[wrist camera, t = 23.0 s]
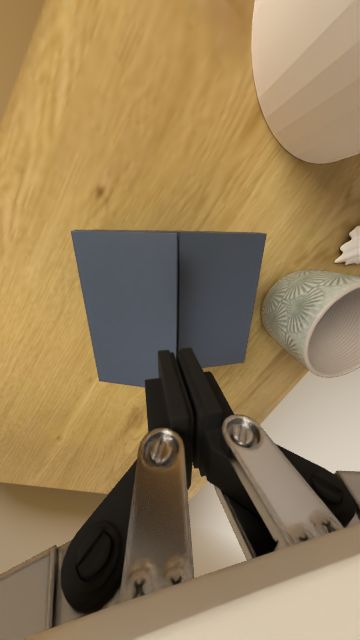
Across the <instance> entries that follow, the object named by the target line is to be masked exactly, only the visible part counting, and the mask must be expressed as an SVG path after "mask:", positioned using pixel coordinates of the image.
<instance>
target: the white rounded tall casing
mask: <svg viewBox="0 0 360 640" xmlns="http://www.w3.org/2000/svg"><path fill="white" fill-rule="evenodd" d="M251 53H252V66H253V77H254V82H255V87H256V92H257V97H258V101H259V104H260V107H261V110H262V112H263V115H264V118H265V120H266V122H267V124H268V126H269V128H270V130H271V132H272V134H273V135H274V137H275V138H276V139H277V140H278V142H279V143H280V144H281V145H282V147H283V148H284V149H286V150H287V151H288V152H289V153H291V154H292V155H293V156H295V157H297V158H299V159H301V160H303V161H305V162H310V163H316V164H324V163H332V162H336V161H339V160H342V159H345V158H348V157H351V156H354V155H357V154H360V0H255V3H254V11H253V18H252V41H251Z"/></svg>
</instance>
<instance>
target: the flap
mask: <svg viewBox="0 0 360 640" xmlns="http://www.w3.org/2000/svg"><path fill="white" fill-rule="evenodd" d="M71 235H72V240H73V245H74V251H75V256H76V261H77V267H78V272H79V277H80V282H81V288H82V293H83V298H84V303H85V309H86V314H87V319H88V325H89V330H90V335H91V340H92V346H93V351H94V356H95V362H96V367H97V372H98V377H99V381H103V382H110V383H117V384H124V385H132V386H139V387H145V380H147V379H155V378H159V374H158V351H160V350H169V351H170V352H174V355H175V358H176V352H177V298H178V233H159V232H105V231H71Z"/></svg>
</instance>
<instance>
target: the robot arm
mask: <svg viewBox="0 0 360 640" xmlns="http://www.w3.org/2000/svg"><path fill="white" fill-rule="evenodd" d="M158 374H159V378H155V379H147V380H145V392H146V405H147V419H148V432H149V433H147V434H146V435H145V436H144V438H143V439H142V441H141V442H140V446H139V450H138V457H137V460H136V461H135V462H134V464H133V465H132V466H131V467H130V469H129V470H128V471H127V472H126V473H125V475H124V476H123V477H122V478H121V480H120V481H119V482H118V483H117V484H116V486H115V487H114V488H113V489H112V491H111V492H110V493H109V494H108V495H107V497H106V498H105V499H104V500H103V502H102V503H101V504H100V505H99V506H98V508H97V509H96V510H95V511H94V513H93V514H92V515H91V516H90V517H89V519H88V520H87V521H86V522H85V524H84V525H83V526H82V527H81V529H80V530H79V531H78V532H77V534H76V535H75V537H74V538H73V539H72V540H71V541H69V542H67V543H65V544H63V545H62V546H60V547H58V548H57V546H56V545H54V546H52V547H51V548H49V549H47V550H45V551H43V552H41V553H40V554H38V555H36V556H34V557H32V558H30V559H28V560H26V561H25V562H23V563H21V564H19V565H17V566H15V567H13V568H12V569H10V570H8V571H6V572H4V573H2V574H0V640H360V472H355V471H336V473H335V474H332V473H331V472H329V471H328V470H326V469H324V468H322V467H320V466H318V465H316V464H314V463H312V462H310V461H308V460H306V459H304V458H302V457H300V456H298V455H296V454H294V453H292V452H290V451H288V450H286V449H284V448H283V447H280V446H278V445H276V444H275V443H274V442H273V441H272V440H271V438H270V437H269V436H268V435H267V434H266V432H265V431H264V430H263V429H262V428H261V426H260V425H259V424H258V423H257V422H256V421H254V420H253V419H251V418H250V417H247V416H244V415H237V414H236V415H234V413H233V411H232V409H231V408H230V406H229V404H228V402H227V400H226V398H225V397H224V395H223V393H222V391H221V389H220V387H219V386H218V384H217V382H216V380H215V378H214V376H213V375H212V373H211V372H210V371H209V372H203V370H202V368H201V366H200V364H199V362H198V360H197V358H196V356H195V354H194V352H193V350H192V348H191V347H190V348H180V351H179V352H176V358H175V355H174V352H170V351H169V350H160V351H158ZM192 462H193V466H194V468H199V471H200V475H201V477H202V476H206V477H207V481H209V482H210V483H212V484H213V485H214V486H215V489H216V493H217V495H218V497H219V499H220V502H221V504H222V506H223V508H224V510H225V513H226V515H227V517H228V519H229V522H230V524H231V526H232V528H233V531H234V533H235V535H236V537H237V539H238V542H239V544H240V546H241V548H242V551H243V553H244V555H245V557H246V559H247V561H244V562H241V563H238V564H235V565H232V566H229V567H226V568H223V569H220V570H217V571H214V572H211V573H208V574H205V575H203V576H200V577H196V578H194V568H193V556H192V542H191V530H190V518H189V504H188V492H187V491H188V489H189V487H190V485H191V473H192Z"/></svg>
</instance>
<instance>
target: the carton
mask: <svg viewBox="0 0 360 640" xmlns="http://www.w3.org/2000/svg"><path fill="white" fill-rule="evenodd" d="M74 231H105V232H159V233H178V298H177V352H179V351H180V348H190V347H191V348H192V350H193V352H194V354H195V356H196V358H197V360H198V362H199V364H200V366H201V368H204V367H212V366H220V365H228V364H236V363H244V360H245V354H246V348H247V343H248V337H249V331H250V326H251V320H252V314H253V308H254V303H255V297H256V291H257V286H258V280H259V274H260V269H261V263H262V257H263V251H264V246H265V240H266V234H264V233H252V232H217V231H150V230H74Z"/></svg>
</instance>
